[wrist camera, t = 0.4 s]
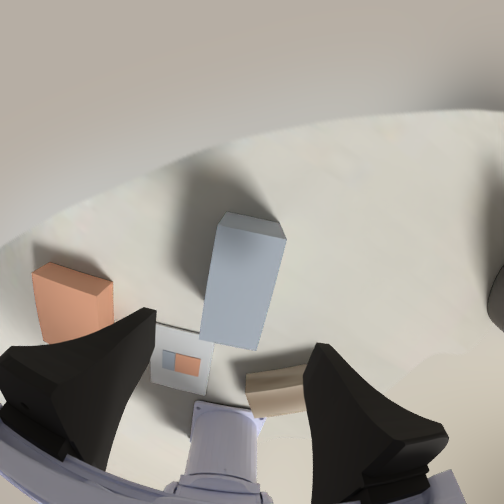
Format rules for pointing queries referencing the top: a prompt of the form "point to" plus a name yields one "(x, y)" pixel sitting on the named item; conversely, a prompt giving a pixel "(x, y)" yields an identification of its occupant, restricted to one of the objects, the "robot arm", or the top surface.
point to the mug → (497, 301)
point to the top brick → (241, 280)
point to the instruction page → (181, 360)
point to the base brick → (71, 303)
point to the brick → (276, 391)
